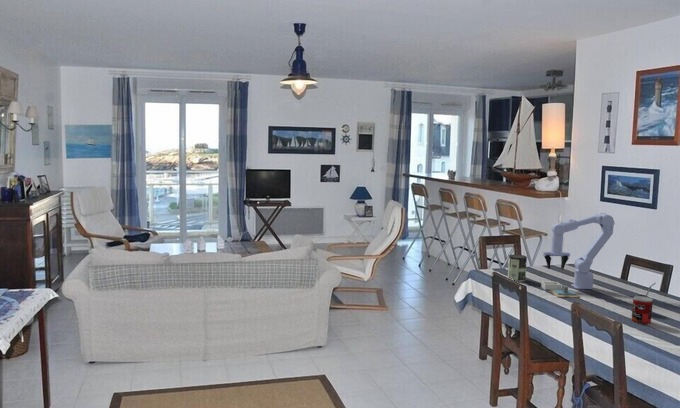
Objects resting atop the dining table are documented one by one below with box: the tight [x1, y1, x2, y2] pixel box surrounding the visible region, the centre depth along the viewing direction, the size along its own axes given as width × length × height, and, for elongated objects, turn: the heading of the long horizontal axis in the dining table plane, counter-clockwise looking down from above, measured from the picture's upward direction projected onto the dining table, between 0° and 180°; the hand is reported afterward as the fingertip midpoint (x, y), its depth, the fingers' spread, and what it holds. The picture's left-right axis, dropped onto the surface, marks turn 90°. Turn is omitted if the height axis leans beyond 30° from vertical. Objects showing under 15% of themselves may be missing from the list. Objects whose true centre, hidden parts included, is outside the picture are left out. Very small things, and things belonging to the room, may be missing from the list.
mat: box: [549, 290, 581, 299], centre depth 303 cm, size 12×12×1 cm
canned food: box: [631, 295, 654, 325], centre depth 260 cm, size 8×8×11 cm
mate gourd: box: [635, 282, 656, 298], centre depth 274 cm, size 8×8×15 cm
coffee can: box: [507, 254, 528, 283], centre depth 333 cm, size 10×10×14 cm
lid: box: [553, 284, 577, 295], centre depth 303 cm, size 10×7×4 cm
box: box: [540, 280, 562, 291], centre depth 315 cm, size 9×6×3 cm, turn 89°
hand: (555, 268), depth 320 cm, fingers open, 7 cm apart
